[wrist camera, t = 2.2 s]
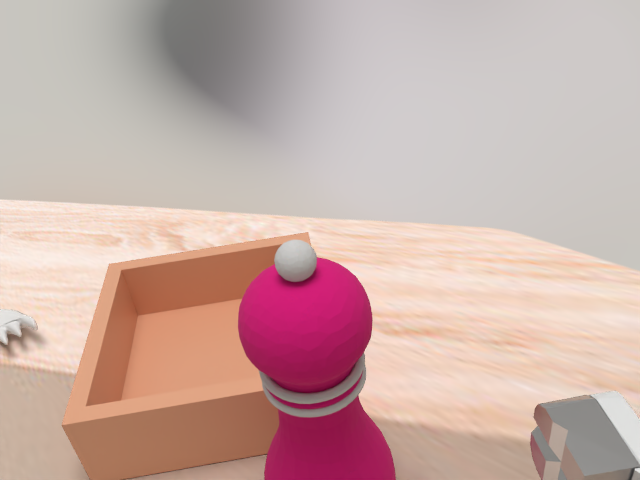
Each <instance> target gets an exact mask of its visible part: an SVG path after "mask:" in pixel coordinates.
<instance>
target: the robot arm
mask: <svg viewBox="0 0 640 480" xmlns="http://www.w3.org/2000/svg"><path fill="white" fill-rule="evenodd" d="M534 419H535V421H536V423H537V425H538V426H537V427H536V428H535V429H534V430H533V431H532V432H531V442H530V446H531V451H532V457H533V461H534V464H535V466H536V469H537V471H538V473H539V476H540V478H541V480H640V419H639V418H638V416H637V415H636V414H635V412H634V411H633V410H632V408H631V407H630V405H629V404H628V403H627V401H626V400H625V399H624V397H623V396H622V395H621V394H620V393H618V392H617V391H609V392H604V393H598V394H593V395H589V396H588V395H583V396H578V397H573V398H568V399H562V400H557V401H552V402H547V403H542V404H538V405H537V406H536V408H535V412H534Z"/></svg>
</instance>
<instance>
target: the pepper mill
mask: <svg viewBox="0 0 640 480" xmlns="http://www.w3.org/2000/svg"><path fill="white" fill-rule="evenodd" d="M274 262H275V264H274V265H272V266H270V267H268V268H267V269H265V270H263V271H262V272H261V273H260V274H259V275H258V276H257V277H256V278H255V279H254V280H253V281H252V282H251V283H250V285H249V286H248V288H247V290H246V292H245V294H244V296H243V298H242V301H241V303H240V306H239V313H238V332H239V338H240V341H241V344H242V347H243V349H244V352H245V354H246V356H247V357H248V359H249V360H250V361H251V363H252V364H253V365H254V366H255V367H256V368H257V369H258V370H259V374H260V378H261V380H262V387H263V390H264V393H265V395H266V397H267V399H268V400H269V401H270V402H271V403H272V404H273V405H274V406H275V407H276V408H278V415H279V427H278V430H277V432H276V434H275V436H274V438H273V440H272V442H271V445H270V448H269V450H268V454H267V459H266V464H265V472H264V475H265V480H396V477H395V468H394V463H393V458H392V455H391V451H390V448H389V446H388V444H387V442H386V440H385V438H384V436H383V434H382V432H381V431H380V429H379V428H378V427H377V426H376V424H375V423H374V422H373V421H372V420H371V418H370V417H369V416H368V415H367V414H366V412H365V411H364V410H363V408H362V405H361V403H360V401H359V397H358V395H359V393H360V391H361V390H362V388H363V386H364V383H365V380H366V367H365V355H364V351H365V349H366V347H367V345H368V343H369V340H370V338H371V332H372V312H371V306H370V302H369V299H368V296H367V294H366V292H365V289H364V288H363V286H362V285H361V283H360V282H359V280H358V279H357V278H356V276H355V275H353V274H352V273H351V272H350V271H349V270H348V269H346V268H345V267H343V266H341V265H340V264H338V263H335V262H333V261H330V260H328V259H323V258H318V257H316V253H315V251H314V249H313V248H312V247H311V246H310V245H309V244H308V243H306V242H304V241H302V240H290V241H287V242H285V243H283V244H282V245H281V246H280V247H279V248H278V250H277V252H276V254H275V259H274Z"/></svg>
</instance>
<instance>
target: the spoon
mask: <svg viewBox="0 0 640 480" xmlns="http://www.w3.org/2000/svg"><path fill="white" fill-rule="evenodd" d="M24 327H29V328H32V329H34V330H37V329H38V327H37V324H36V322H35V320H34V319H33V318H32V317H30V316H27V315H24V314H22V313H20V312H18V311H15V310H6V309H0V341H1V342H2V343H4V344H5V345H7V344H8V338H7V334H14V335H17V336H18V337H21V336H22V333H21V328H24Z"/></svg>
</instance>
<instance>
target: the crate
mask: <svg viewBox="0 0 640 480" xmlns="http://www.w3.org/2000/svg"><path fill="white" fill-rule="evenodd" d="M290 240H302V241H304V242H306V243H308V244H309V245H310V246H311V243H310V238H309V234H308V232H306V233H300V234H294V235H288V236H281V237H275V238H269V239H262V240H256V241H250V242H244V243H237V244H231V245H225V246H219V247H212V248H206V249H200V250H194V251H187V252H181V253H175V254H169V255H162V256H156V257H150V258H144V259H137V260H131V261H125V262H119V263H112V264H109V266H108V270H107V273H106V276H105V280H104V283H103V287H102V290H101V293H100V297H99V300H98V304H97V307H96V310H95V314H94V317H93V320H92V324H91V327H90V331H89V334H88V337H87V341H86V344H85V348H84V351H83V354H82V358H81V361H80V365H79V368H78V371H77V375H76V378H75V381H74V385H73V388H72V392H71V395H70V398H69V402H68V405H67V409H66V412H65V415H64V419H63V422H62V427H63V429H64V431H65V433H66V435H67V436H68V438H69V440H70V442H71V444H72V446H73V448H74V450H75V452H76V453H77V455H78V457H79V459H80V461H81V463H82V465H83V467H84V469H85V470H86V472H87V474H88V476H89V478H90V480H123V479H128V478H134V477H140V476H145V475H151V474H156V473H162V472H168V471H173V470H179V469H185V468H190V467H196V466H202V465H207V464H213V463H218V462H224V461H230V460H235V459H241V458H247V457H252V456H258V455H263V454H268V450H269V448H270V445H271V442H272V440H273V438H274V436H275V434H276V432H277V430H278V427H279V415H278V408H276V407H275V406H274V405H273V404H272V403H271V402H270V401H269V400H268V399H267V397H266V395H265V393H264V390H263V387H262V380H261V378H260V374H259V370H258V369H257V368H256V367H255V366H254V365H253V364H252V363H251V361H250V360H249V359H248V357H247V356H246V354H245V352H244V349H243V347H242V344H241V341H240V338H239V332H238V313H239V306H240V303H241V301H242V298H243V296H244V294H245V292H246V290H247V288H248V286H249V285H250V283H251V282H252V281H253V280H254V279H255V278H256V277H257V276H258V275H259V274H260V273H261V272H262V271H263V270H265V269H267V268H268V267H270V266H272V265H274V264H275V262H274V259H275V254H276V252H277V250H278V248H279V247H280V246H281V245H282V244H283V243H285V242H287V241H290Z"/></svg>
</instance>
